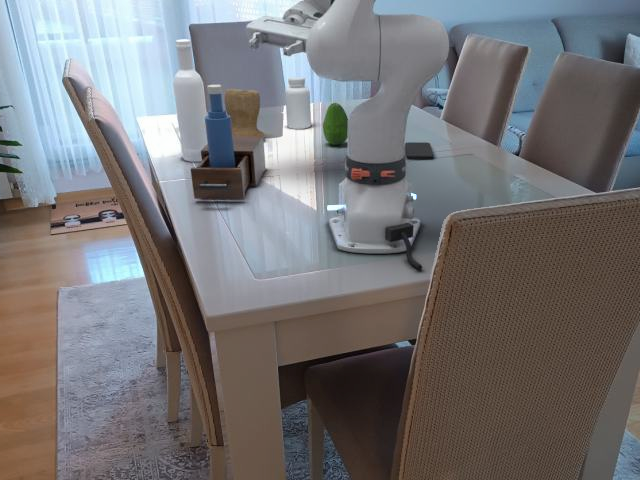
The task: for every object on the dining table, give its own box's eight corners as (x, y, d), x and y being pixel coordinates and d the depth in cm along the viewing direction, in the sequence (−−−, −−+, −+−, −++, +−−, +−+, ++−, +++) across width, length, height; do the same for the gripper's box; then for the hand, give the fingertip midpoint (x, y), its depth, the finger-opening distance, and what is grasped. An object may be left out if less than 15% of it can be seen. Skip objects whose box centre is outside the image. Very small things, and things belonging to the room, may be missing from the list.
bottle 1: (177, 159, 177) (160, 40, 162) (195, 153, 183) (180, 37, 168) (200, 163, 174) (184, 42, 159) (217, 156, 180) (205, 39, 164)
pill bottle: (283, 125, 213) (280, 77, 206) (305, 123, 216) (304, 75, 209) (291, 130, 207) (289, 80, 200) (314, 127, 210) (313, 79, 202)
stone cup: (265, 135, 202) (261, 84, 194) (265, 144, 192) (261, 91, 184) (216, 136, 201) (211, 85, 193) (214, 145, 190) (208, 92, 183)
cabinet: (255, 186, 156) (253, 151, 151) (204, 186, 156) (200, 150, 152) (265, 169, 169) (263, 136, 164) (218, 169, 169) (214, 135, 165)
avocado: (320, 147, 188) (319, 104, 182) (327, 141, 195) (326, 99, 189) (346, 149, 187) (346, 105, 180) (352, 142, 193) (352, 100, 187)
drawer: (240, 205, 141) (237, 174, 138) (189, 204, 142) (185, 174, 138) (254, 180, 157) (252, 152, 153) (208, 180, 157) (205, 152, 154)
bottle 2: (234, 189, 148) (224, 88, 137) (210, 188, 148) (198, 87, 137) (239, 181, 153) (229, 83, 141) (215, 181, 153) (204, 83, 142)
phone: (407, 156, 176) (404, 142, 189) (406, 159, 176) (404, 145, 189) (434, 156, 176) (429, 142, 189) (433, 159, 176) (429, 145, 189)
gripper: (263, 4, 154) (229, 27, 147) (336, 18, 147) (304, 42, 139) (267, 31, 159) (234, 54, 151) (338, 45, 152) (307, 70, 144)
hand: (268, 49), depth 145 cm, fingers open, 8 cm apart
